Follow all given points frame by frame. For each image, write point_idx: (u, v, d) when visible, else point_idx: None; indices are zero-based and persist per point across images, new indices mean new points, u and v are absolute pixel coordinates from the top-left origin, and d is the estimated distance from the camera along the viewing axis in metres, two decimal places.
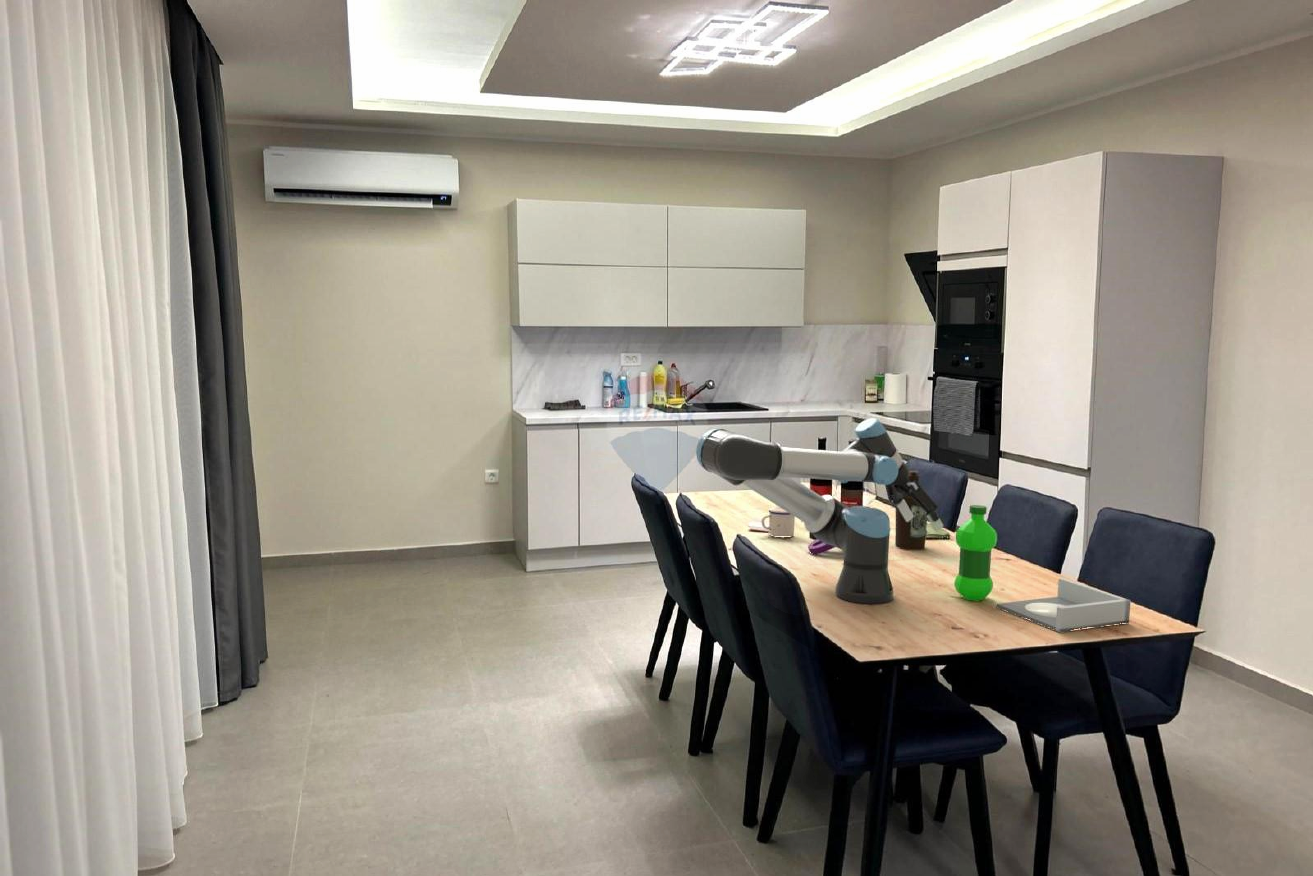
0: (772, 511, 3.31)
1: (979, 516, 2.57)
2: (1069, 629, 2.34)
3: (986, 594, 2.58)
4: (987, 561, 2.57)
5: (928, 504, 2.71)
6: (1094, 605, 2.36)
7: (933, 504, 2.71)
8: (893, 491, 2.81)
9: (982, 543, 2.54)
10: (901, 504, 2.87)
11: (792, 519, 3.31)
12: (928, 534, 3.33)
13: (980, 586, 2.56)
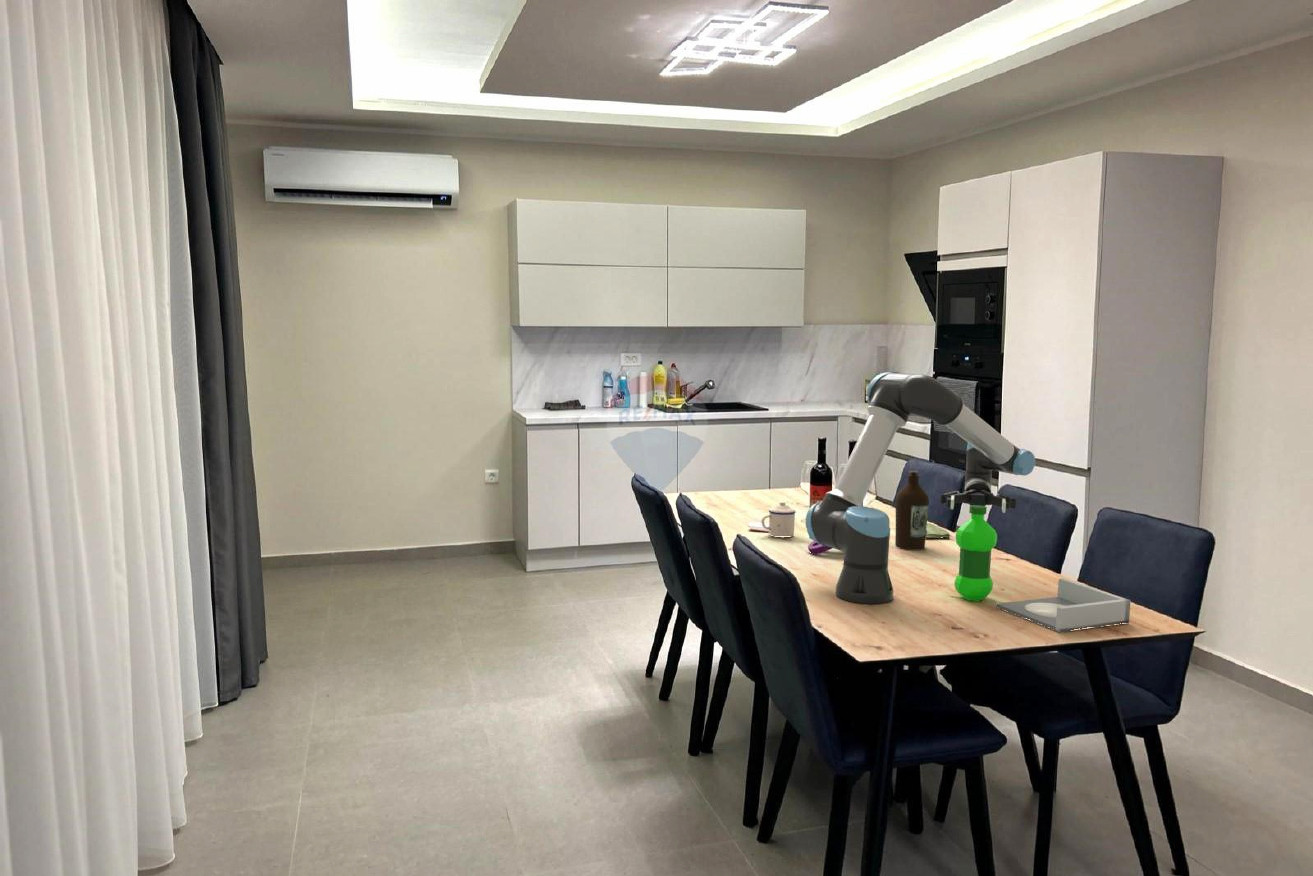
0: (772, 511, 3.31)
1: (979, 516, 2.57)
2: (1069, 629, 2.34)
3: (986, 594, 2.58)
4: (987, 561, 2.57)
5: None
6: (1094, 605, 2.36)
7: None
8: (965, 491, 2.81)
9: (982, 543, 2.54)
10: None
11: (792, 519, 3.31)
12: (928, 534, 3.33)
13: (980, 586, 2.56)
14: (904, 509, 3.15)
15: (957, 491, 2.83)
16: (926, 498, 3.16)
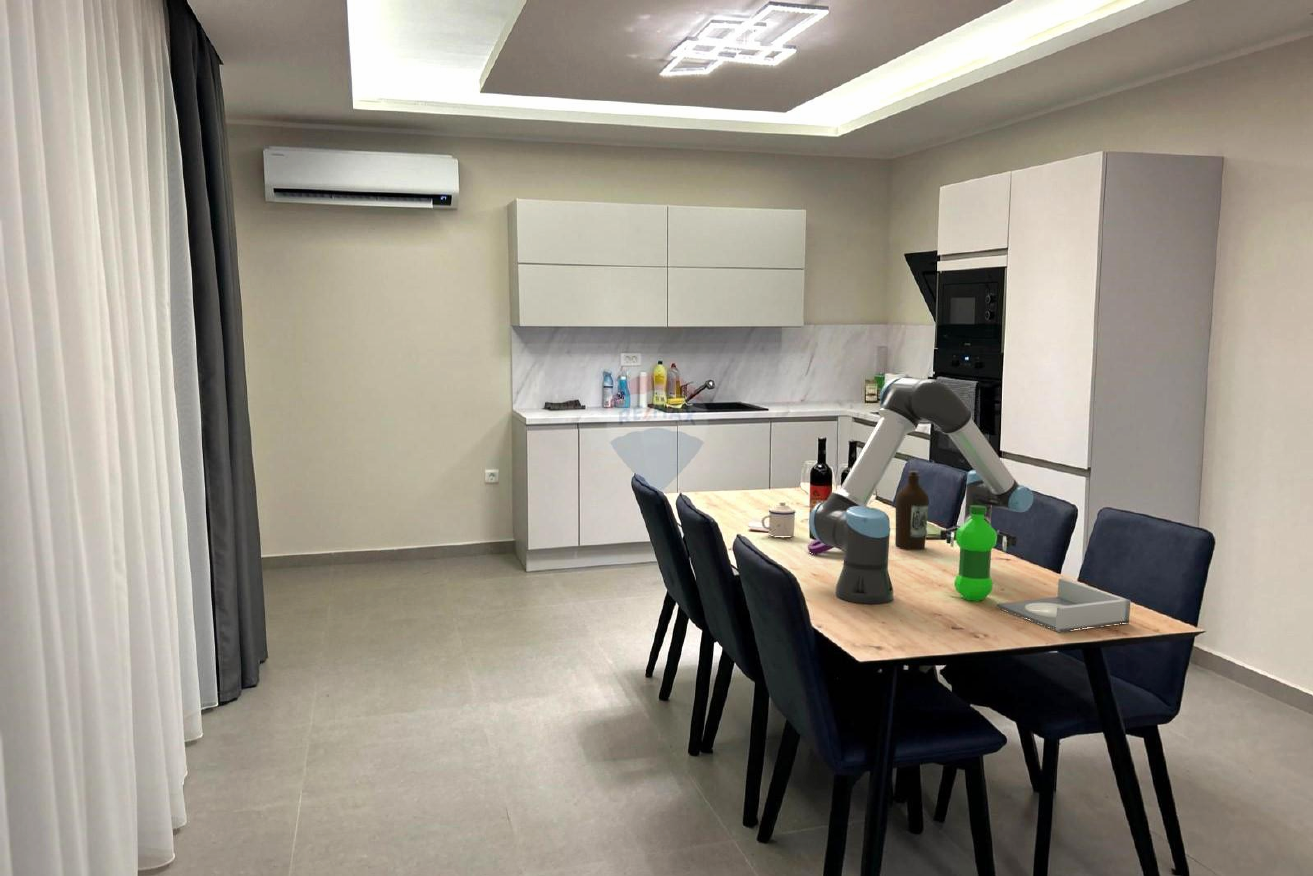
0: (772, 511, 3.31)
1: (979, 516, 2.57)
2: (1069, 629, 2.34)
3: (986, 594, 2.58)
4: (987, 561, 2.57)
5: None
6: (1094, 605, 2.36)
7: None
8: None
9: (982, 543, 2.54)
10: None
11: (792, 519, 3.31)
12: (928, 534, 3.33)
13: (980, 586, 2.56)
14: (904, 509, 3.15)
15: (957, 527, 2.79)
16: (926, 498, 3.16)
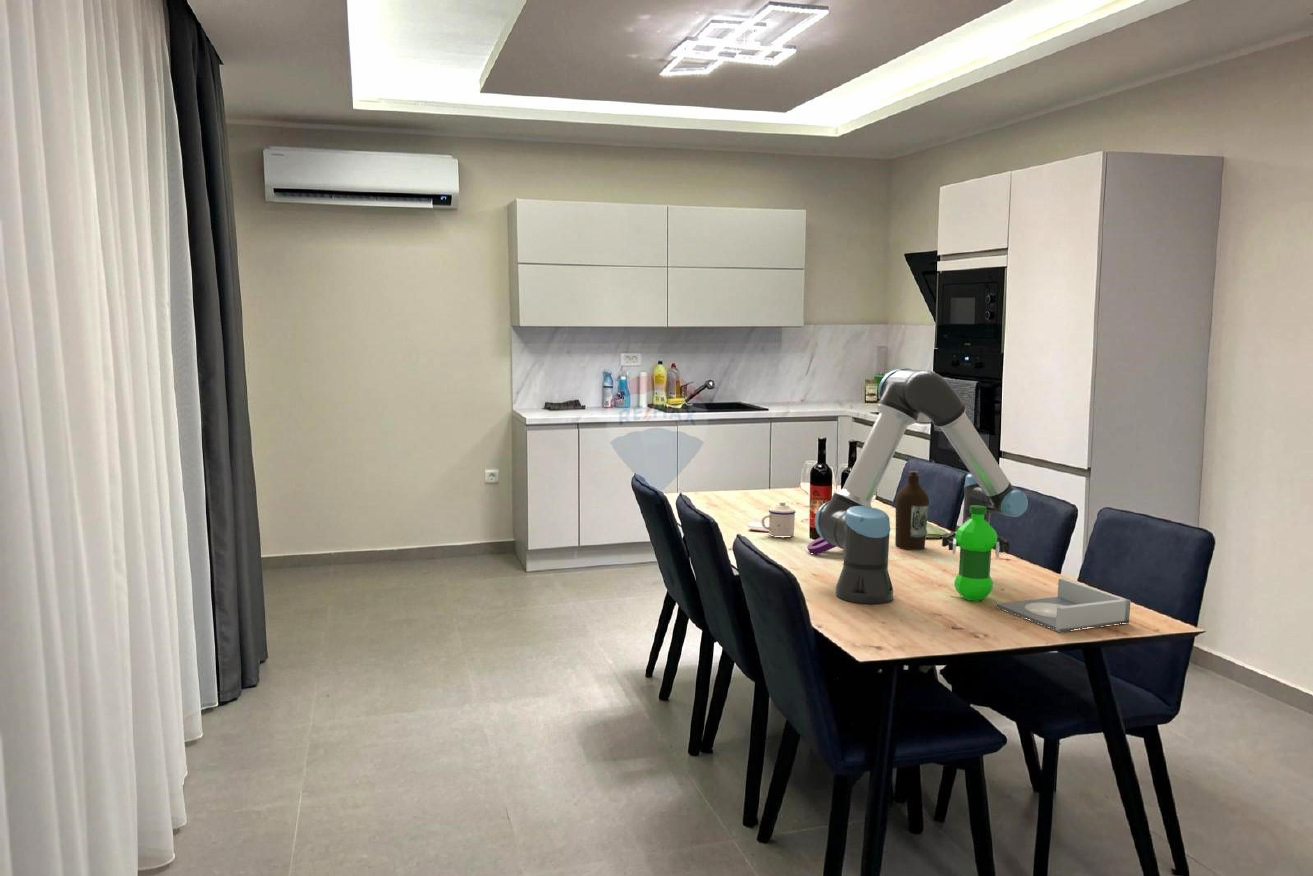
0: (772, 511, 3.31)
1: (979, 516, 2.57)
2: (1069, 629, 2.34)
3: (986, 594, 2.58)
4: (987, 561, 2.57)
5: None
6: (1094, 605, 2.36)
7: None
8: None
9: (982, 543, 2.54)
10: None
11: (792, 519, 3.31)
12: (928, 534, 3.33)
13: (980, 586, 2.56)
14: (904, 509, 3.15)
15: (955, 532, 2.72)
16: (926, 498, 3.16)
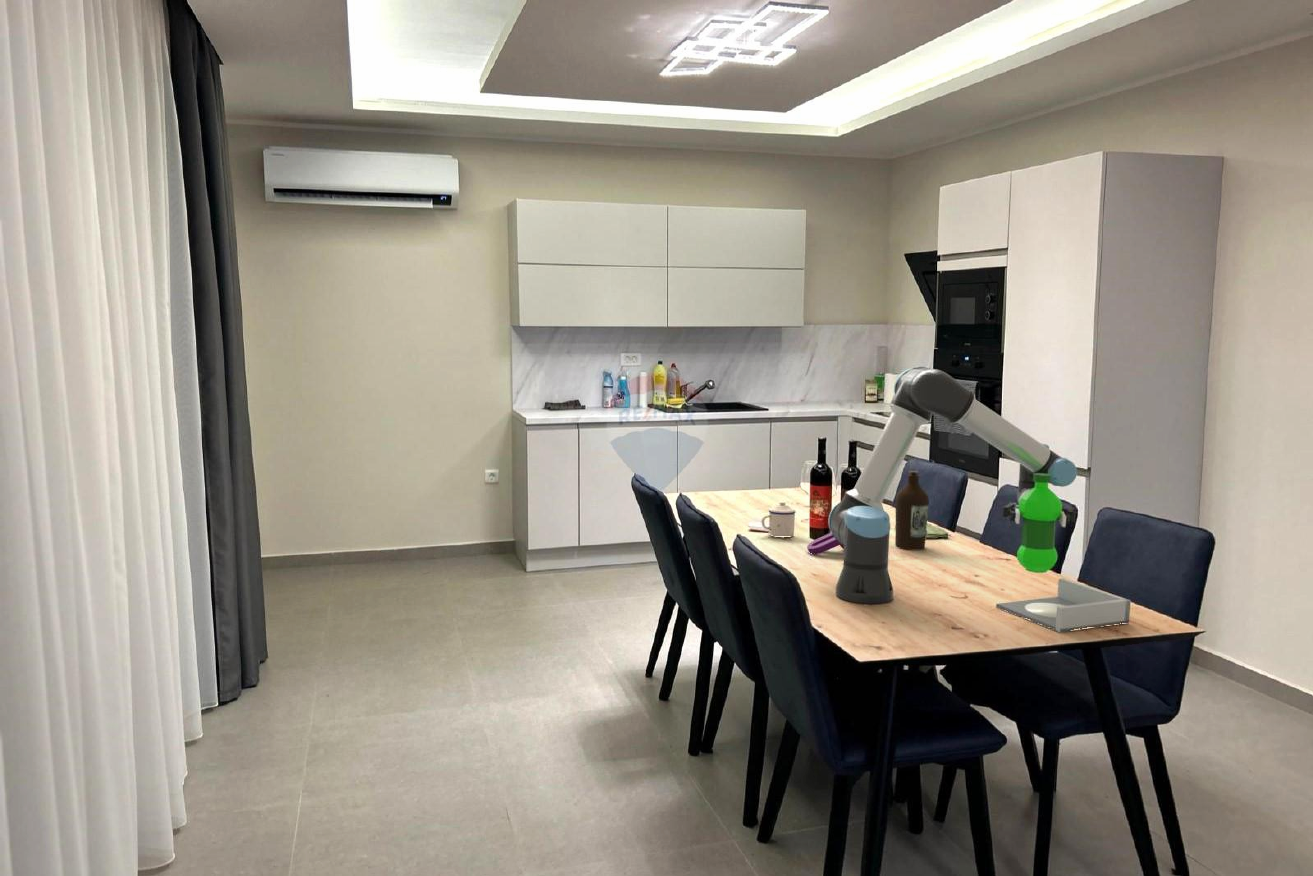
0: (772, 511, 3.31)
1: (1043, 484, 2.47)
2: (1069, 629, 2.34)
3: (1051, 565, 2.47)
4: (1052, 531, 2.47)
5: None
6: (1094, 605, 2.36)
7: None
8: None
9: (1048, 511, 2.44)
10: None
11: (792, 519, 3.31)
12: (927, 534, 3.33)
13: (1046, 557, 2.46)
14: (904, 509, 3.15)
15: (1014, 503, 2.61)
16: (926, 498, 3.16)
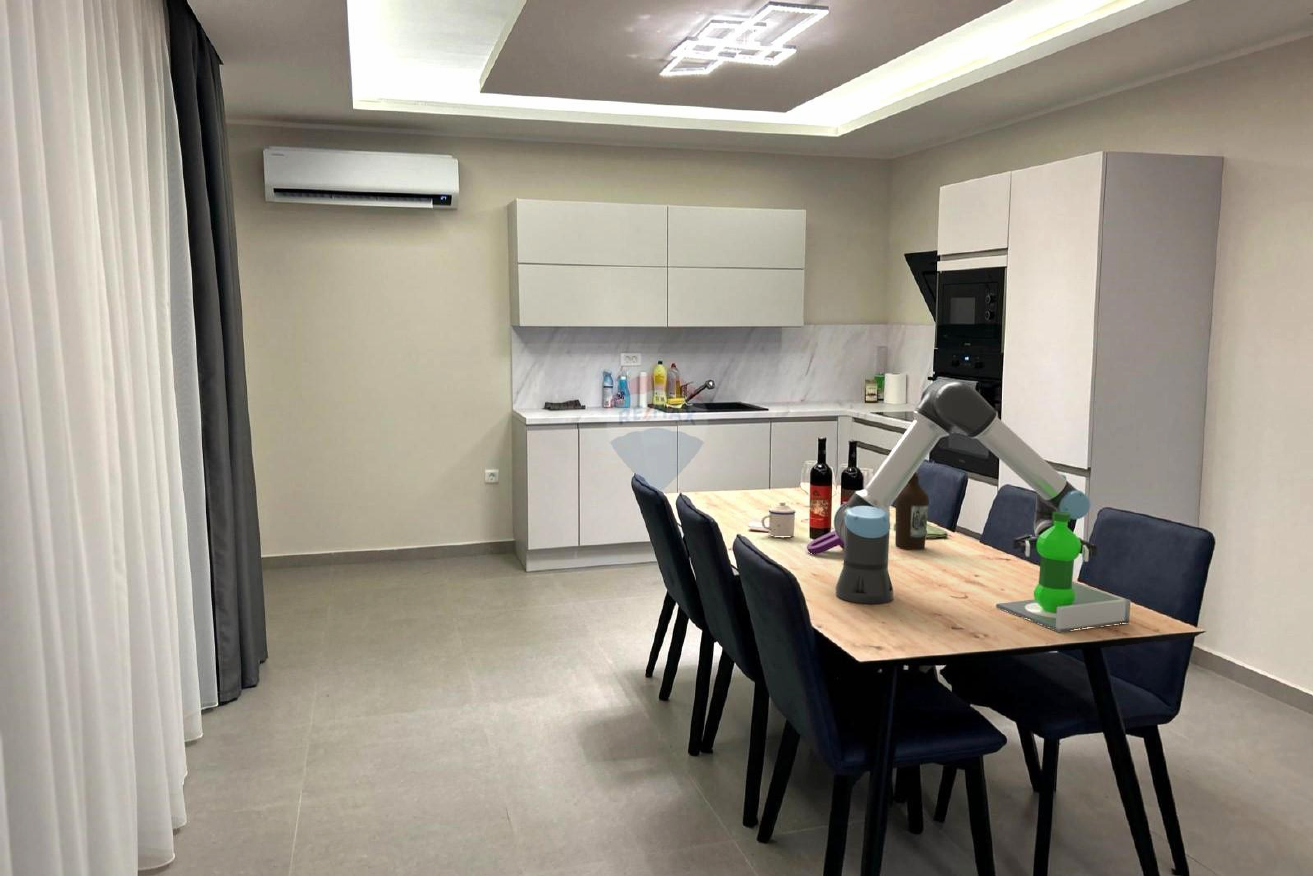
0: (772, 511, 3.31)
1: (1063, 523, 2.44)
2: (1069, 629, 2.34)
3: None
4: (1070, 571, 2.43)
5: None
6: (1094, 605, 2.36)
7: None
8: (1039, 535, 2.56)
9: (1066, 552, 2.41)
10: None
11: (792, 519, 3.31)
12: (927, 534, 3.33)
13: (1063, 597, 2.43)
14: (904, 509, 3.15)
15: (1029, 535, 2.58)
16: (926, 498, 3.16)
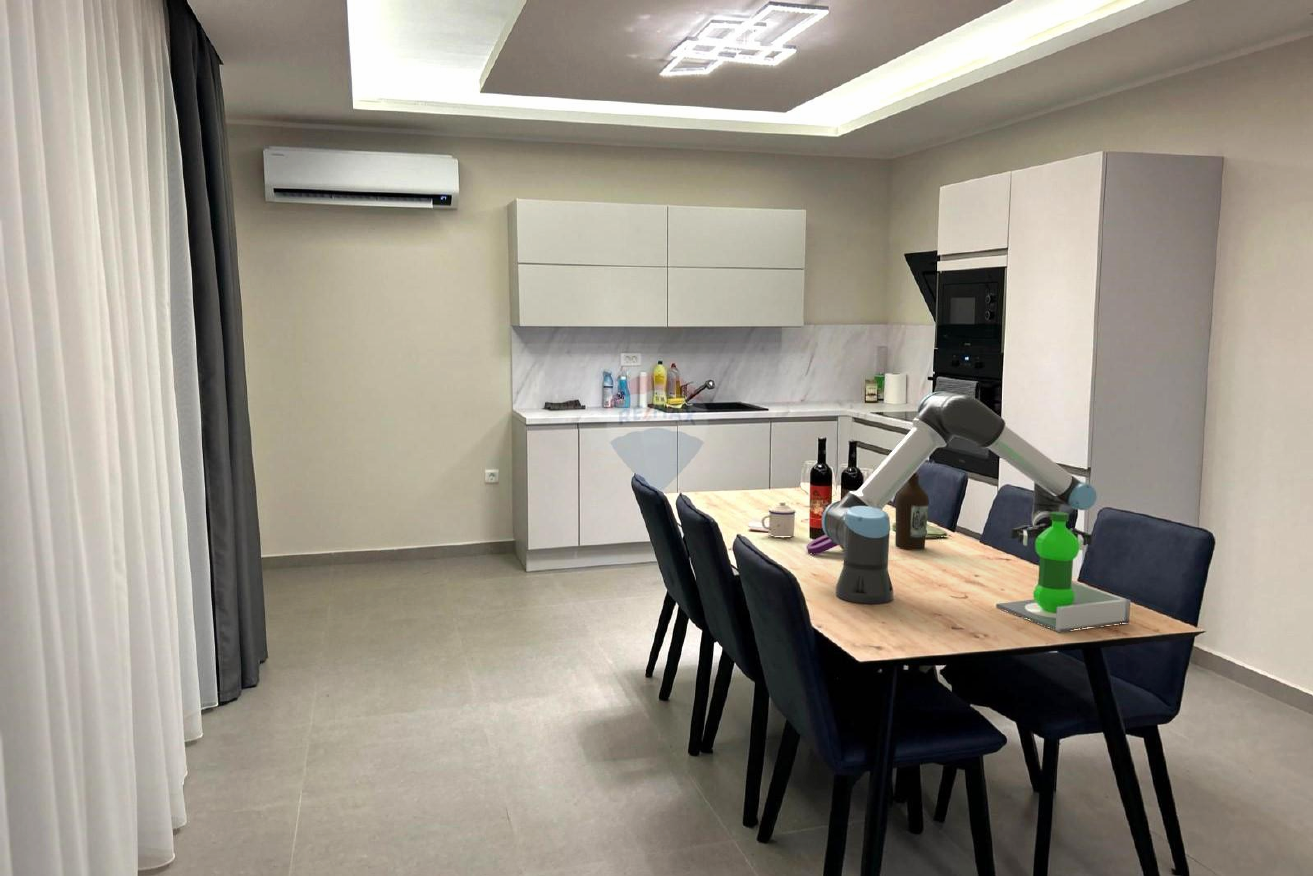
0: (772, 511, 3.31)
1: (1061, 523, 2.44)
2: (1069, 629, 2.34)
3: None
4: (1069, 571, 2.44)
5: None
6: (1094, 605, 2.36)
7: None
8: (1037, 525, 2.68)
9: (1065, 551, 2.41)
10: None
11: (792, 519, 3.31)
12: (927, 534, 3.33)
13: (1063, 597, 2.43)
14: (904, 509, 3.15)
15: (1027, 525, 2.71)
16: (926, 498, 3.16)
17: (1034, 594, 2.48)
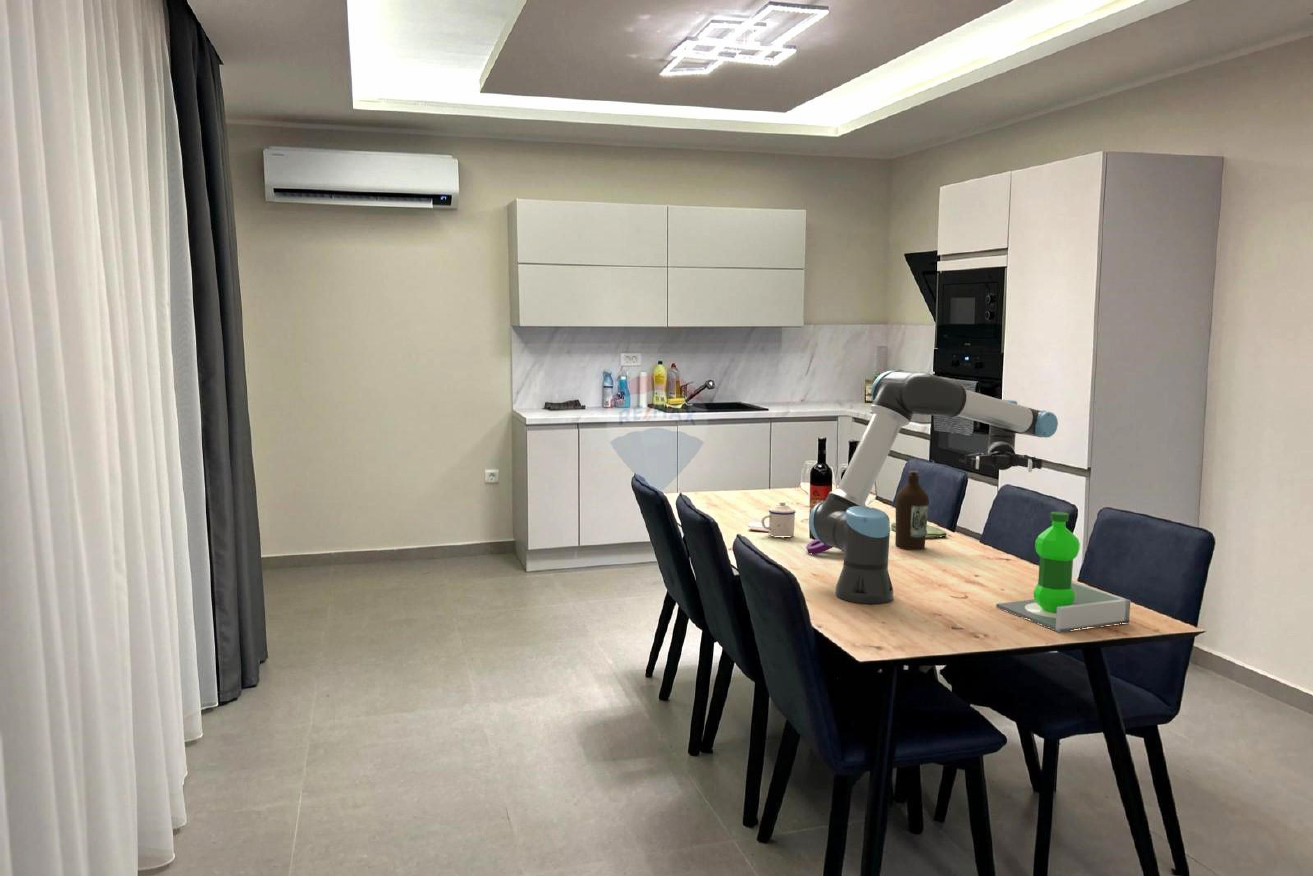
0: (772, 511, 3.31)
1: (1061, 523, 2.44)
2: (1069, 629, 2.34)
3: None
4: (1069, 571, 2.44)
5: None
6: (1094, 605, 2.36)
7: None
8: (990, 453, 2.77)
9: (1065, 551, 2.41)
10: None
11: (792, 519, 3.31)
12: (927, 534, 3.33)
13: (1063, 597, 2.43)
14: (904, 509, 3.15)
15: (981, 453, 2.80)
16: (926, 498, 3.16)
17: (1034, 594, 2.48)
